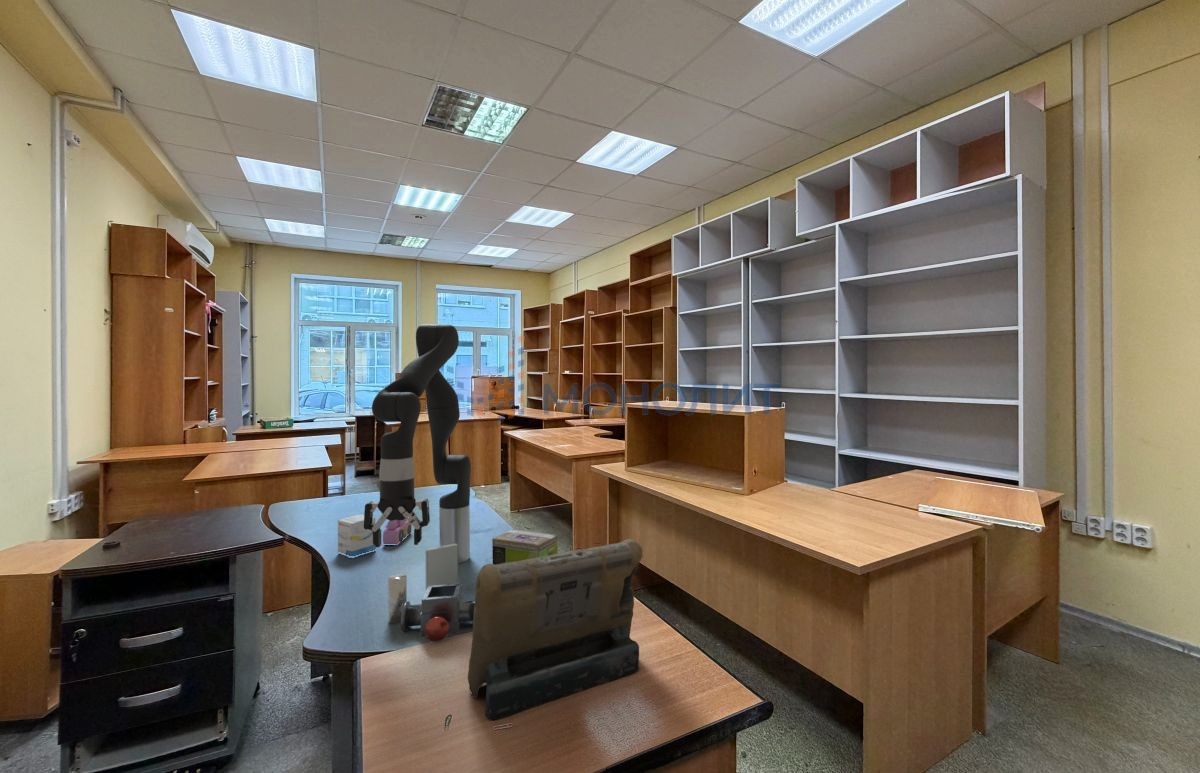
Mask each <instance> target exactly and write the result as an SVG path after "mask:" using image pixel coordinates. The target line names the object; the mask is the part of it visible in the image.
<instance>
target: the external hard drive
mask: <svg viewBox="0 0 1200 773" xmlns="http://www.w3.org/2000/svg"><path fill="white" fill-rule="evenodd" d="M424 552H425V559H424V560H425V591H426V590H427V587H428V586H431V585H445V584H459V578H458V577H459V574H458V571H459V565H458V545H457V544H450V545H445V546H440V545H439V546H436V547H435V546H434V547H429V548H426V549H425V550H424Z"/></svg>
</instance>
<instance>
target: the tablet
mask: <svg viewBox="0 0 1200 773" xmlns="http://www.w3.org/2000/svg"><path fill="white" fill-rule="evenodd" d="M642 559H643V548H642V545H640V543H639V542H637V541H636V540H634V539H632V538H627V539H625V540H622V541H620V542H616V543H610V544H605V545H601V546H594V547H590V548H584V549H583V548H582V549H572V550H569V551H565V552H558V554H553V555H548V556H542V557H537V558H533V559H527V560H522V561H516V562H507V563H502V564H497V565H494V564H493V563H487V564H484V565H482V567H481V568H480V569H479V572H478V574H477V576H476V584H475V598H474V600H475V606H474V617H473V621H472V635H471V636H472V637H471V638H472V639H471V648H470V649H471V650H470V656H469V662H468V670H467V671H468V672H467V681H468V685H469V686H468V688H469V691H470V693H471V692H472V694H471V697H472V696H473V697H472V698H474V699H475V698H477V697H478V694H479V693H478V692H479V689H480V688H481V686H482V685H484V684H486V690H485V691H486V695H485V712H484V713H485V718H486V717H487V718H488V719H487V718H486V719H487V720H489V719H492V720H497V719H500V718H503V717H506V716H509V715H513V714H516V713H520V712H522V711H525V710H528V709H530V708H533V707H537V706H541V705H544V704H546V703H549V702H553V701H556V700H560V699H562V698H566V697H568V696H570V695H574V694H578V693H580V692H582V691H586V690H588V689H591V688H594V687H597V686H600V685H603V684H606V683H608V682H612V681H615V680H618V679H621V678H624V677H626V676H629V675H631V674H634V673H636V672H638V671H639V670H640V664H639V661H640V660H639V659H640V646H639V643H638V642H637V641H635V640H633V639H631V636H630V635H631V628H632V623H633V622H632V620H633V617H634V605H635V592H634V590H633V588H632V587H631V583H632V578H633V576H634V575H635V573H636V572H638V568H639V564H640V562H641V561H642Z"/></svg>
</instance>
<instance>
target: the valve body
mask: <svg viewBox="0 0 1200 773" xmlns="http://www.w3.org/2000/svg"><path fill="white" fill-rule="evenodd" d="M462 588H463V586H462V583H461V582H460V583H459V582H458V584H445V585H431V586H428V587H427V590H426V589H425V592H424V594H423V596H422V598H421V603H420V604H411V602H410V601H407V602H404V604H403V607H402V612H401V623H400V630H401V631H402V632H407V631H409V630H408V629H409V628H410V627H419V626H420V638H421V637H422V638H423V637H426V639H428V641H430V642H441V641H442V640H444V639H446V637H447V636H448V635H459V632H460V628H461V624H462V623H465V622H473V617H474V606H475V599H473V600H471V599H470V600H464V598H463V597H464V595H463V593H462V592H463V591H462Z"/></svg>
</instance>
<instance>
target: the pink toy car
mask: <svg viewBox="0 0 1200 773" xmlns="http://www.w3.org/2000/svg"><path fill="white" fill-rule="evenodd" d="M412 526H413V525H412V524H411V523H409V522H408V520H407V519H404V520H393V521H389V520H388V522H387V524H386V525H385V526H384V527H385V529H384V530H383V533H382V543H383V544H398V543H399V542H401V541H402V540H403V538H405V537H406V536H407V535H408V534H410V533H411V534H412V528H413V527H412ZM411 534H410V535H411ZM401 543H402V542H401Z"/></svg>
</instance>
